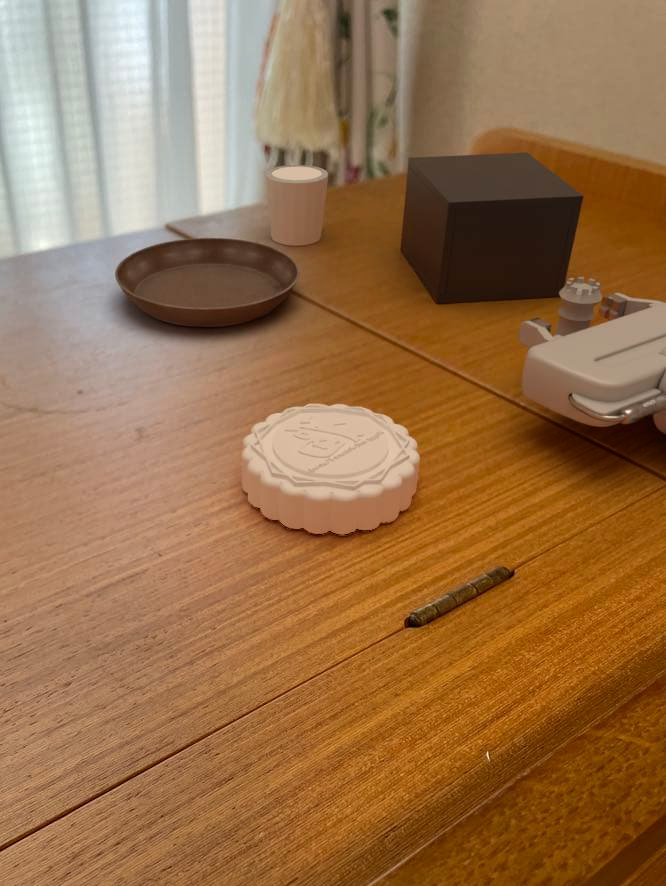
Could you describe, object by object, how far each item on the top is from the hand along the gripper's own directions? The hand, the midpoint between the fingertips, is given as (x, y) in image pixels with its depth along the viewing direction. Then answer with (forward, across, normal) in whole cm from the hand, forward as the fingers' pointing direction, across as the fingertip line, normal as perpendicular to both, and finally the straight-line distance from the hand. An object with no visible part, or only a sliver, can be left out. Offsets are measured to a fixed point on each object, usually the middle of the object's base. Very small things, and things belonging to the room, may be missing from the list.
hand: (567, 315), depth 70 cm
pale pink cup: (+39, 0, -5) cm, 39 cm away
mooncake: (-4, -25, -5) cm, 26 cm away
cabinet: (+20, +10, -5) cm, 23 cm away
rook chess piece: (-1, 0, -5) cm, 5 cm away
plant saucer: (+29, -17, -5) cm, 34 cm away
